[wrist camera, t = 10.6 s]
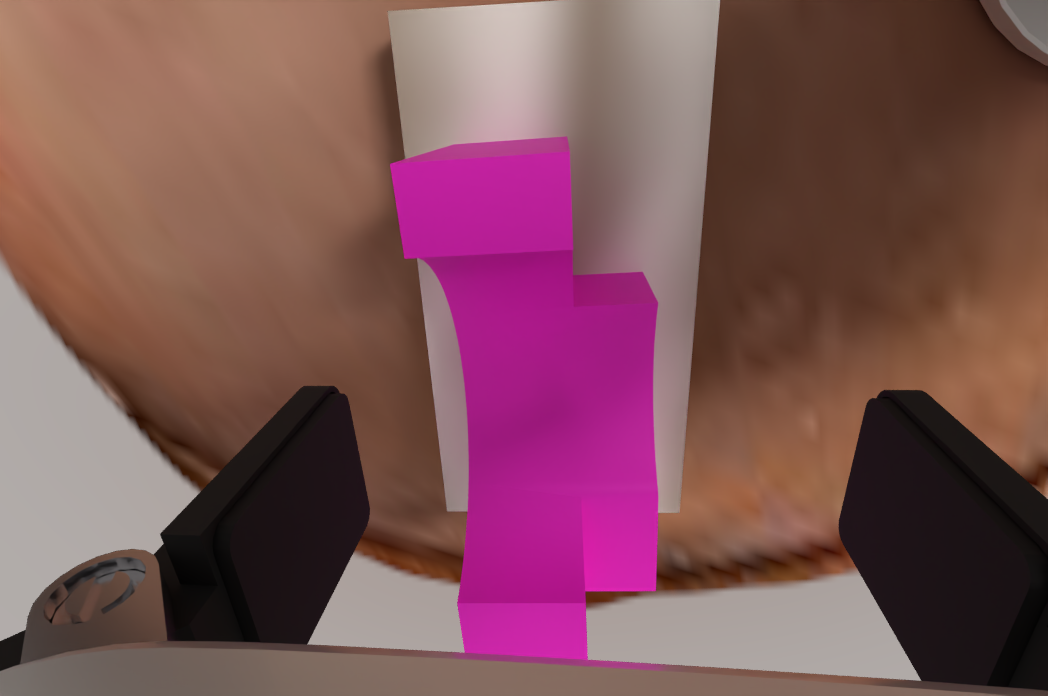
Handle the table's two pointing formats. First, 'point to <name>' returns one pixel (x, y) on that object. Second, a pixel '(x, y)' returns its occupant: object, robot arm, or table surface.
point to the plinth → (576, 163)
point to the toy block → (538, 393)
